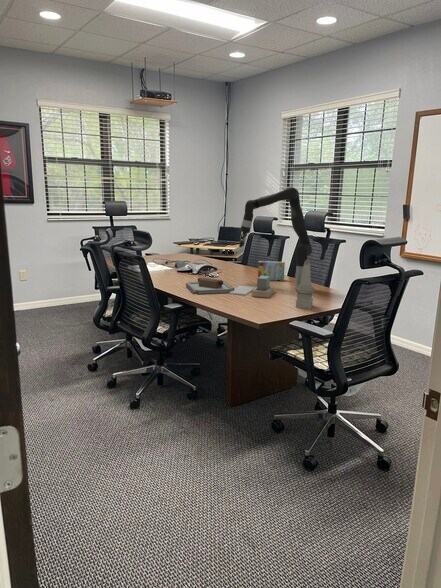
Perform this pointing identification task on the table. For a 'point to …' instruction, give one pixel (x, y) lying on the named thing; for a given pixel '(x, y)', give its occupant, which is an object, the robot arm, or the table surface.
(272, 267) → the snack box
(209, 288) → the gray tray
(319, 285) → the table surface
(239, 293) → the mat
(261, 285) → the box
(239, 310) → the table surface
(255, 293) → the carton
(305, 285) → the miniature monument
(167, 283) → the table surface
